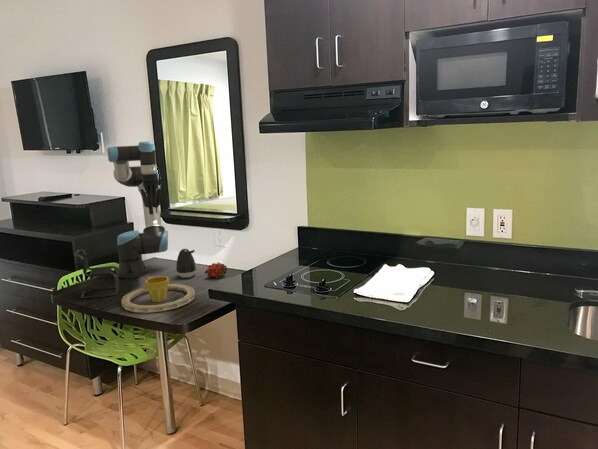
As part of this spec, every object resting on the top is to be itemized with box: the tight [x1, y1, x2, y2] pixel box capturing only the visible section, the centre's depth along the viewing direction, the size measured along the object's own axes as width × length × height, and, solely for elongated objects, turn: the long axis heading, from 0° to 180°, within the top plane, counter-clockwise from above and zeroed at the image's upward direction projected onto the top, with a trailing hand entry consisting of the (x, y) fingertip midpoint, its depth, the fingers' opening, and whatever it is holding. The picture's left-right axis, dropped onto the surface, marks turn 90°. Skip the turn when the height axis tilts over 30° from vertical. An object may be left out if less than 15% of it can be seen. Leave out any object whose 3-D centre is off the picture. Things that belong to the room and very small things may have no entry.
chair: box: [73, 248, 120, 300], centre depth 235 cm, size 13×17×22 cm
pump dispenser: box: [175, 248, 197, 279], centre depth 257 cm, size 10×10×15 cm
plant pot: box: [144, 276, 170, 303], centre depth 224 cm, size 10×10×10 cm
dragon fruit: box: [204, 262, 228, 279], centre depth 255 cm, size 8×8×12 cm
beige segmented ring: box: [120, 275, 196, 314], centre depth 224 cm, size 32×32×7 cm
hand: (154, 220), depth 245 cm, fingers closed
